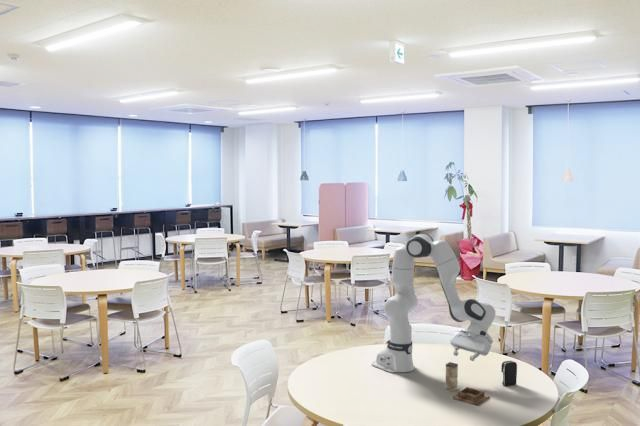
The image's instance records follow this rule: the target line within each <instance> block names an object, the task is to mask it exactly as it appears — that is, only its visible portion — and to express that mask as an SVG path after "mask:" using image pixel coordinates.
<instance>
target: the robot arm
mask: <svg viewBox="0 0 640 426" xmlns="http://www.w3.org/2000/svg"><path fill="white" fill-rule="evenodd" d="M392 257H393V258H392V267H391V283H392V285H393V288H394V295H393V296H390V297H389V298H388V299H387V300H386V301H385V302H384V303H383V311H384V314H385V315H386V316H387V319H388V323H389V339H388V340H387V341H386V342H385V345H387V346H386V347H384V348H383V349H381V350H380V351H379V352H378V353H377V354H376V359H375V360H373V361H372V362H371V366H373V367H376V368H378V369H380V370H384V371H386V372H388V373H391V374H392V373H393V374H394V373H407V372H408V373H409V372H412V371H414V370H415V365H414V361H413V340H412V335H413V334H412V332H413V330H412V329H413V327H412V325H411V324H410V320H409V313H411V312H413V311H414V310H415V308H416V307H417V306H418V304H419V299H418V297H417V295H416V292H415V286H414V284H415V283H414V275H415V274H414V273H415V271H414V270H415V261H416V259H417V258H419V259H420V258H428V257H429V258H431V260H432V261H433V263H434V266H435V267H436V269H437V272H438V275H439V281H440V285H441V288H442V292H443V293H444V295H445V296H444V297H445V299H446V301H447V304H448V312H449V316H450V317H451V319H452V320H454V321H455V322H456V323H463V322H465V321H469V322H470V324H469V325H468V328H467V330H463V329H459V330H457V331H456V332H455V334H454V335H453V336H452V337H451V339H450V342H449V343H450V345H451V347H453V348H454V349H453V351H454V352H453V353H452V354H453V356H455V357H458V355H459V352H458V351H459V350H463V351H467V352H470V353H473V355H470V357H469V360H470V361H472V362H475V359H477V358H478V357H479V356H484V357H485V356H487V355H489V353H490V351H491V348H492V344H493V342H494V340H493V338H492V336H490V334H489V333H488V330H489V329H490V328H491V326H492V324H493V322H494V320H495V317H496V310H495V308H494V306H492V305H491V304H490V303H487V302H479V301H478V300H476V299H473V298H469V299H465V300H464V299H463V300H461V299H460V296H459V293H458V291H457V288H456V286H455V285H456V284H455V281H456V279H457V277H458V276H459V274H460V272H461V265H460V263H459V260H458V258H457V256H456V254H455V252H454V251H453V248H452V247H451V246H450V245H449V243H448V242H447V241H446V240H444V239H438V240H435V241H434V238H433V237H432V236H431V235H430V234H428V233H418V234H415V235H413V236H412V237H410V238H409V239H408V240H407V242H406V245H401V246H398V247H396V248H395V250H394V253H393V256H392Z"/></svg>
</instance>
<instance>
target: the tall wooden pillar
mask: <svg viewBox="0 0 640 426" xmlns="http://www.w3.org/2000/svg"><path fill="white" fill-rule="evenodd" d="M458 367H459V364H458V363H455V362H452V361H450V362H447V363H445V390H447V391H449V392H450V391H451V392H455V391H456V390H458V372H459V371H458Z"/></svg>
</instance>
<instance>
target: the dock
mask: <svg viewBox="0 0 640 426" xmlns="http://www.w3.org/2000/svg"><path fill="white" fill-rule="evenodd" d="M490 396H491V395H488V394H485V391H484V390H479V389H475V388H473V387H468V386H466V387H465V388H462V389H461V390H460V391H458V392H457V393H456V394H455V395H453V396H452V400H457V401H460V402H463V403H467V404H471V405H475V406H477V407H478V406H480V405H481V404H483V403H484V402H485V401H486V400H488V399H490Z"/></svg>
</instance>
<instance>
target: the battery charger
mask: <svg viewBox="0 0 640 426" xmlns="http://www.w3.org/2000/svg"><path fill="white" fill-rule="evenodd" d="M500 369H501V371H500V372H501V373H502V377H503V379H502V382H501V384H502V385H503V386H504V387H511V386H516V385H517V379H518V374H517V373H518V364H517V362H516V361H513V360H504V361H502V363H501V368H500Z"/></svg>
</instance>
